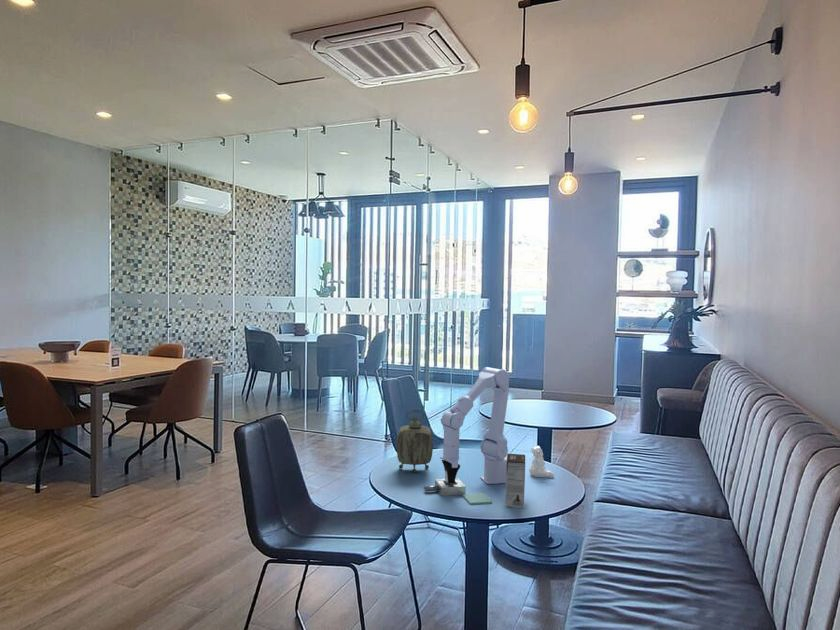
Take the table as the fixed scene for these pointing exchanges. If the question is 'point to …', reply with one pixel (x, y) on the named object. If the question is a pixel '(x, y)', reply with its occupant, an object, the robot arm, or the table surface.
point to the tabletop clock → (414, 443)
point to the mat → (477, 498)
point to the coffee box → (515, 480)
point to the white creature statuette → (539, 464)
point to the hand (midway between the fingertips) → (450, 481)
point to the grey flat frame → (447, 487)
